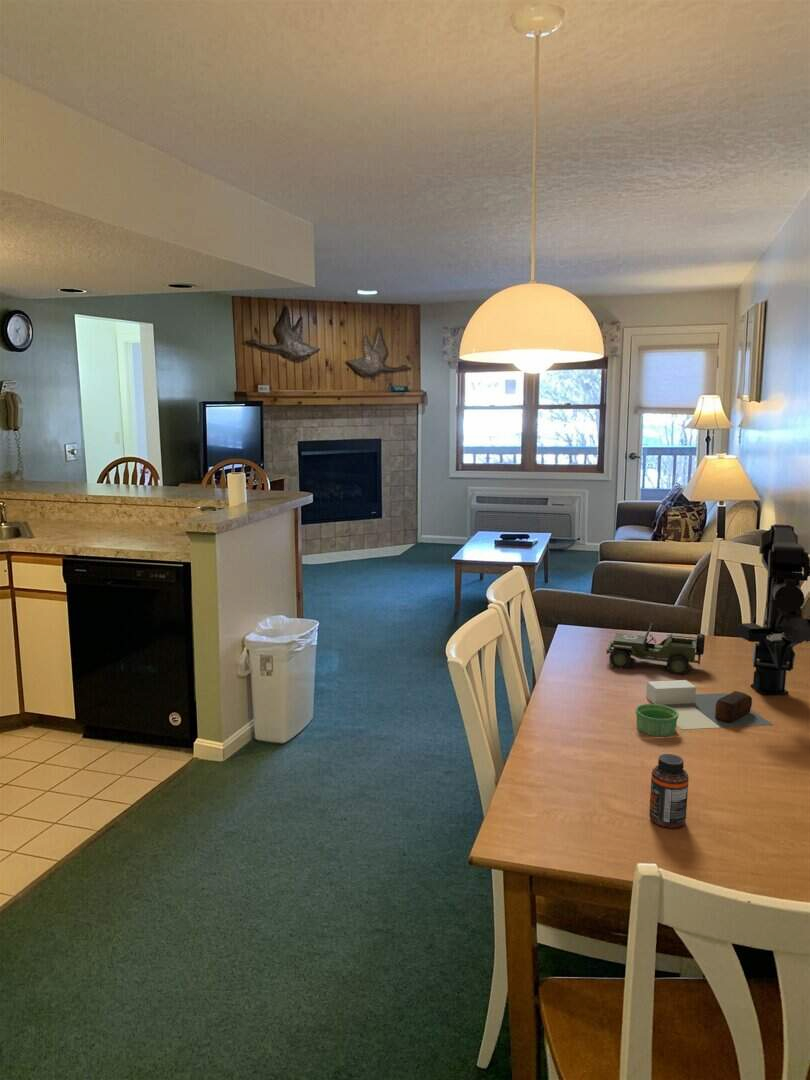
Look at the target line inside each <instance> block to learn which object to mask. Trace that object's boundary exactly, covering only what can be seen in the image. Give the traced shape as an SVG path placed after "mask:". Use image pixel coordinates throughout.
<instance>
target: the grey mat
mask: <svg viewBox="0 0 810 1080" xmlns="http://www.w3.org/2000/svg"><path fill="white" fill-rule="evenodd" d="M728 694H729V693H727V692H721V693H720V692H719V693H699V694H697V693H696V696H695V703H687V704H665V705H664V706H668V707H671V708H673V709H675V710H676V711H677V712H678V713H679V716H678V719H677V724H676V727H678V728H679V729H680V730H699V729H700V730H701V729H703V730H704V729H721V728H723V729H724V728H739V727H740V728H741V727H759V726H760V727H763V726H765V727H766V726H774V724H773V723H771V722H770V721H768V720H767V719H766V718H764V717H763V716H761V715H759V714H758V713H757V712H755V711H754V710H752V708H751V709H750V712H749V713H747V714H746V715H744V716H743V717H741V718H739V719H738V720H735V721H734V722H732V723H728V722H724V721H721V720H718V719H715V714H716V703H717V700H718V699H720V698H722V697H724V696H726V695H728ZM646 699H647V700H648V701H650V700H649V699H648V698H646Z"/></svg>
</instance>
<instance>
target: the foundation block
mask: <svg viewBox="0 0 810 1080" xmlns="http://www.w3.org/2000/svg"><path fill="white" fill-rule="evenodd" d="M645 694H646V695H645V699H647V698H648V699H649V700H648V699H647V700H648V701H650V702H651V704H659V705H665V704H687V703H695V696H696V694H697V686H695V685H694V684H693V683H691V682H689V681H688V680H687V679H679V680H678V679H677V680H656V681H655V680H654V681H653V680H651V681H646V693H645Z"/></svg>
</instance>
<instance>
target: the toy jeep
mask: <svg viewBox="0 0 810 1080" xmlns="http://www.w3.org/2000/svg"><path fill="white" fill-rule="evenodd" d="M652 625H653V623H652V622H651V623H650V625H649V626H648V627H649V628H648V629H647V631H646V633H645V635H638V634H628V633H619V632H617V633H616V634H615V635H614V639H613V641H609V644H608V645H607V648H606V651H605V652H606V654H607V655H609V662H610V665H611V666H612V667H613V668H614V667H615V668H616V669H620V668H621V669H625V668H627V667H629V665H630V664H631V661H632V657H631V656H633V657H635V658H637V659H639V660H646V661H653V662H654V661H656V662H662V663H663V662H664V663H666V667H667V669H668V671H669V672H670V673H671V674H672V675H673V674H674V675H679V676H682V675H685V674H687V672H688V671H689V670H690V663H693V664H694V663H695V664H697V665H699V666H700V665H701V655H704V653H705V639H706V638H705V637H706V635H705V634H703V633H697V634H696V636H695V637H692V636H683V635H674V634H673V633H671V634H666V635H667V636H666V638H665V639H664V640H662V641H661V642H660V643H657V640H656V639H655V637H654V636H653V635H652V634H650V632H651V628H652ZM648 636H650V640H649V641H648ZM652 641H653V642H654V643H651V642H652ZM696 656H697V659H696ZM695 659H696V660H695Z"/></svg>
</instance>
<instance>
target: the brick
mask: <svg viewBox="0 0 810 1080" xmlns="http://www.w3.org/2000/svg"><path fill="white" fill-rule="evenodd" d="M727 694H728V695H726V696H724V697H722V698H720V699H718V700H717V703H716V714H715V719H718V720H721V721H724V722H728V723H732V722H734V721H735V720H738V719H739V718H741V717H743V716H744V715H746V714H747V713H749V712H750V709H751V710H752V705H753V697H751V695H749V694H747V693H745V692H742V691H738V690H735V691H734V690H733V691H732V692H730V693H727Z"/></svg>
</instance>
